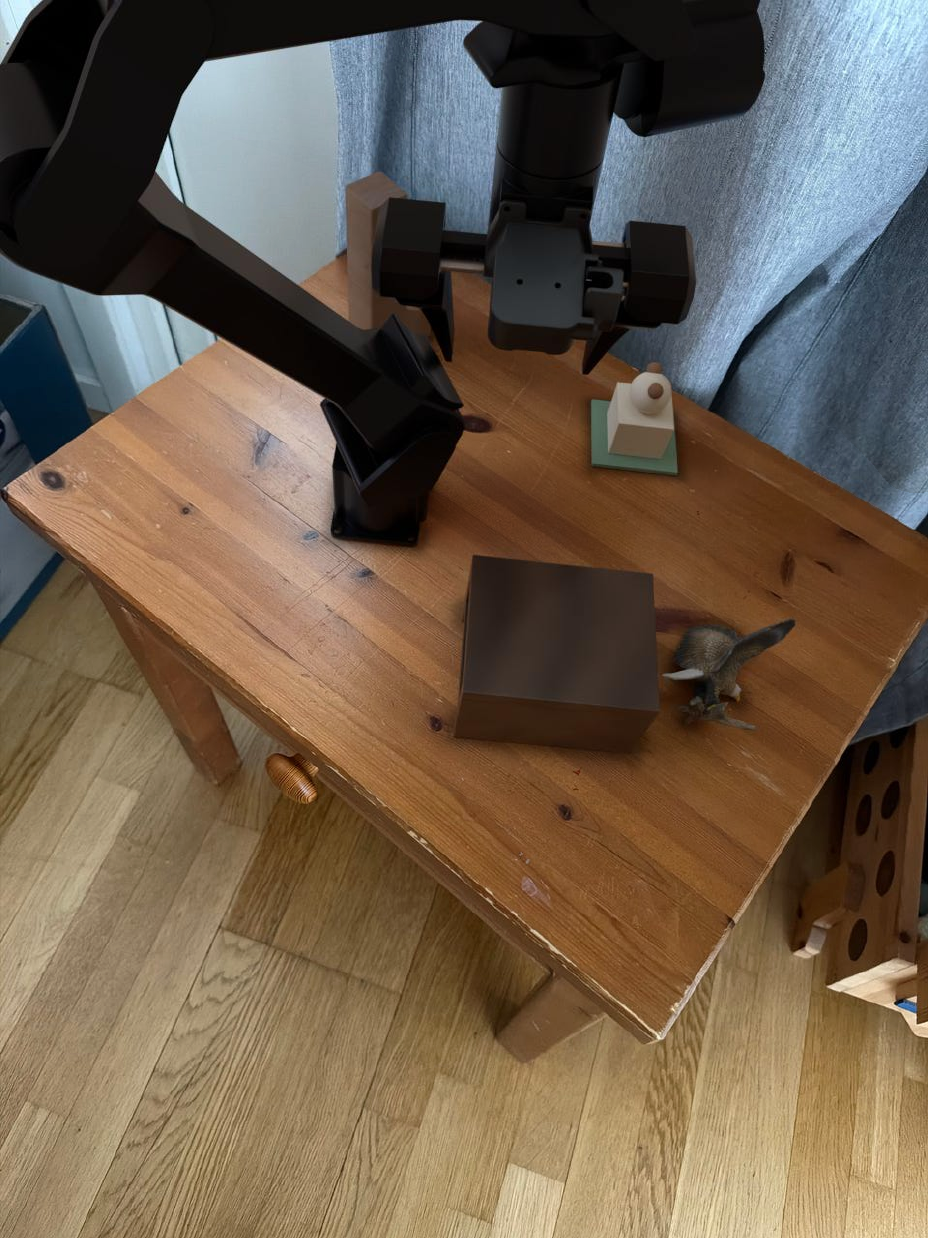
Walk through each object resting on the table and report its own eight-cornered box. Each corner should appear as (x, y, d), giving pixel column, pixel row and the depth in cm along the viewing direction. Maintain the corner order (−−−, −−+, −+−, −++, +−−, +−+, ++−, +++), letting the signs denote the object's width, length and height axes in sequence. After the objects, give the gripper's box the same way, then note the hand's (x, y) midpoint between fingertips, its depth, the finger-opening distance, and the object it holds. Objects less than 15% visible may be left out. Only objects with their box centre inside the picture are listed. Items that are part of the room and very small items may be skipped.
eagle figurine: (769, 757, 60) (811, 642, 63) (741, 709, 55) (788, 586, 57) (665, 730, 64) (708, 624, 67) (631, 684, 59) (679, 572, 62)
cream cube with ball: (607, 453, 73) (629, 392, 67) (607, 412, 75) (627, 350, 69) (661, 459, 73) (687, 399, 67) (658, 418, 75) (683, 357, 69)
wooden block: (371, 367, 75) (372, 209, 62) (348, 344, 76) (343, 184, 64) (431, 336, 78) (444, 177, 65) (407, 314, 79) (415, 153, 66)
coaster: (591, 466, 72) (592, 463, 72) (590, 402, 76) (591, 398, 75) (676, 475, 73) (677, 472, 72) (671, 411, 76) (673, 408, 76)
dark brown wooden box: (453, 737, 60) (462, 692, 54) (462, 608, 65) (472, 554, 59) (630, 754, 60) (660, 711, 54) (626, 625, 65) (653, 573, 59)
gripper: (353, 229, 43) (365, 443, 56) (740, 266, 43) (659, 470, 57) (379, 93, 48) (384, 318, 62) (722, 127, 49) (652, 343, 62)
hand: (517, 363), depth 60 cm, fingers open, 9 cm apart
